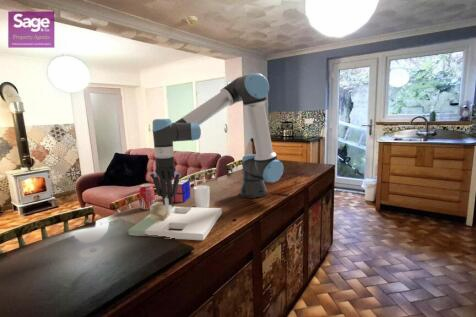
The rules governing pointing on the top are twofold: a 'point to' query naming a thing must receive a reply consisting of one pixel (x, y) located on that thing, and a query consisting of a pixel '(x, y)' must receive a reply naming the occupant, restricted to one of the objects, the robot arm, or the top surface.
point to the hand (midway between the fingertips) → (168, 211)
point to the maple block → (158, 211)
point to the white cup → (202, 196)
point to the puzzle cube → (182, 191)
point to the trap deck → (181, 223)
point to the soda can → (146, 196)
